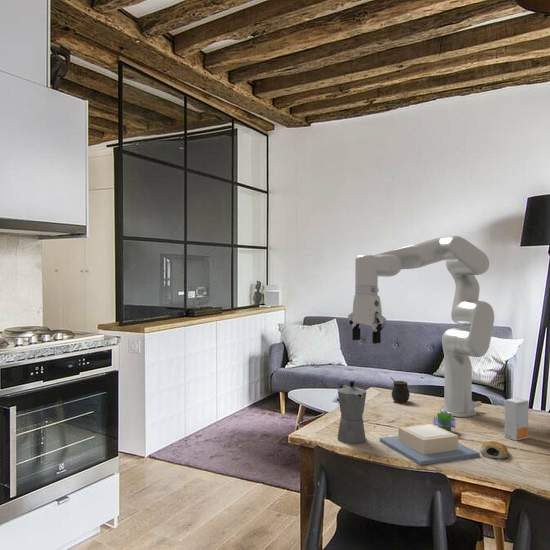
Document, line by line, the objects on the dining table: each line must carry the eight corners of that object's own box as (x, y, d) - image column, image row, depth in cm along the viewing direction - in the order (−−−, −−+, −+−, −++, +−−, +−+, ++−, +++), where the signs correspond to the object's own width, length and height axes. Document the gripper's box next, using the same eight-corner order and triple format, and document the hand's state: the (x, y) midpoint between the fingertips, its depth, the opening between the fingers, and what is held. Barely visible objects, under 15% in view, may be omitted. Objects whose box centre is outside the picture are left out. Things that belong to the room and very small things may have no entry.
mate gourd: (412, 403, 193) (412, 378, 193) (393, 404, 192) (393, 379, 192) (406, 399, 200) (406, 375, 200) (388, 399, 200) (388, 375, 200)
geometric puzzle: (455, 431, 151) (455, 407, 156) (432, 429, 154) (433, 405, 158) (455, 439, 157) (455, 416, 161) (433, 437, 159) (433, 413, 164)
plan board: (433, 434, 155) (433, 418, 155) (479, 456, 136) (479, 438, 136) (379, 441, 148) (379, 424, 148) (420, 465, 129) (420, 446, 129)
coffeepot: (375, 444, 145) (375, 384, 145) (346, 447, 143) (346, 386, 143) (353, 429, 160) (353, 374, 160) (326, 431, 157) (327, 376, 157)
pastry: (486, 447, 144) (486, 434, 144) (511, 452, 140) (511, 439, 140) (479, 456, 136) (479, 443, 136) (505, 462, 133) (505, 448, 133)
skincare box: (516, 441, 149) (516, 402, 149) (504, 437, 153) (504, 399, 153) (528, 438, 152) (529, 400, 152) (516, 434, 155) (516, 397, 156)
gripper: (393, 291, 159) (393, 343, 159) (357, 290, 173) (356, 338, 173) (376, 292, 155) (376, 345, 154) (341, 290, 169) (341, 339, 169)
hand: (366, 341), depth 164 cm, fingers open, 9 cm apart
